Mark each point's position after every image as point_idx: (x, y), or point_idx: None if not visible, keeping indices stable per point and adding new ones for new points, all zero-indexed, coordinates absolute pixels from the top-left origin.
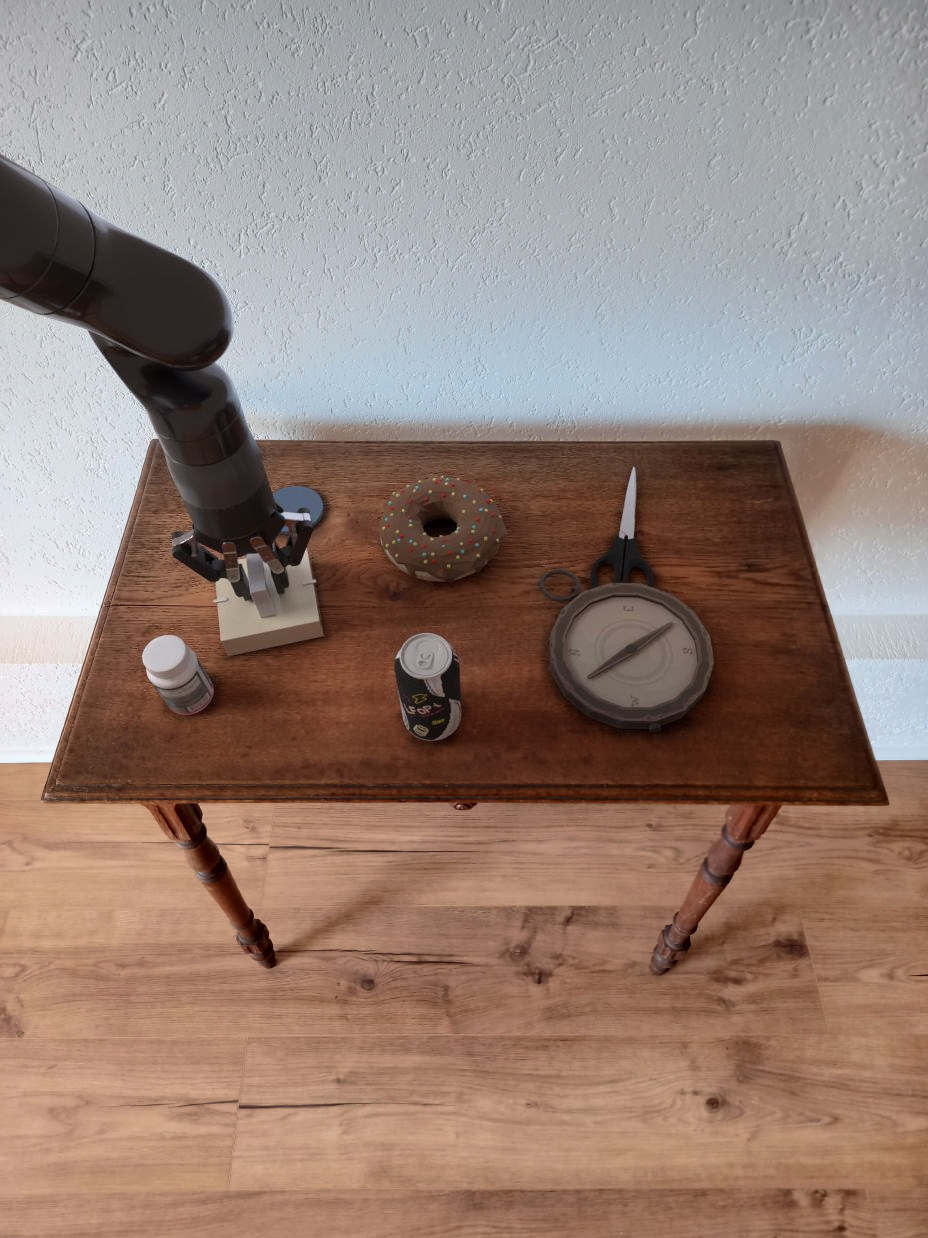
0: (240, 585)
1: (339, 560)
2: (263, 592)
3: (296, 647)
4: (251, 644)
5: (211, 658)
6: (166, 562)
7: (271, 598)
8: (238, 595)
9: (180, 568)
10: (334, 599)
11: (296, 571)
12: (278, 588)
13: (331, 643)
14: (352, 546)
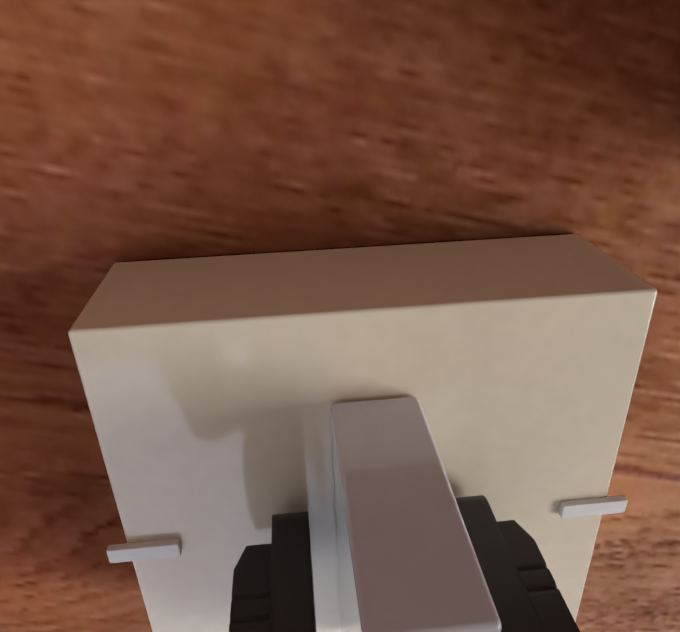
0: (529, 628)
1: (72, 585)
2: (391, 605)
3: (256, 223)
4: (477, 262)
5: (651, 237)
6: (675, 617)
7: (341, 511)
8: (518, 534)
9: (641, 598)
10: (78, 437)
11: (214, 601)
12: (297, 556)
13: (71, 214)
14: (25, 628)
